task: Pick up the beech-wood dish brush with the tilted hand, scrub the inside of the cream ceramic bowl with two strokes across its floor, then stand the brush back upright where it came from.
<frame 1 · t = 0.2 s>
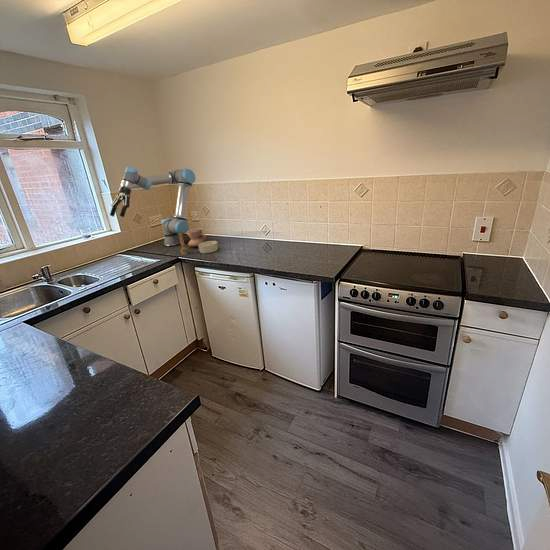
hand: (116, 216, 210), 35 cm above the countertop, tool tilted 35°, fingers open, 13 cm apart
brush: (184, 253, 232), on the countertop
ceramic jug: (198, 246, 248), on the countertop
bowl: (209, 250, 232), on the countertop
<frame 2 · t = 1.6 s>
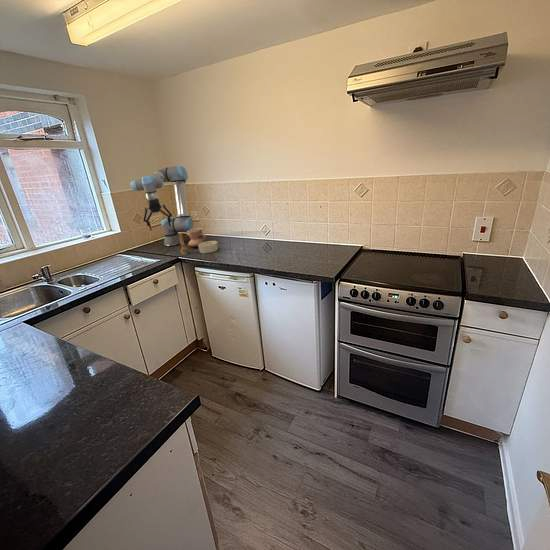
hand: (160, 228, 219), 23 cm above the countertop, tool pointing down, fingers open, 13 cm apart
nothing on the countertop moved.
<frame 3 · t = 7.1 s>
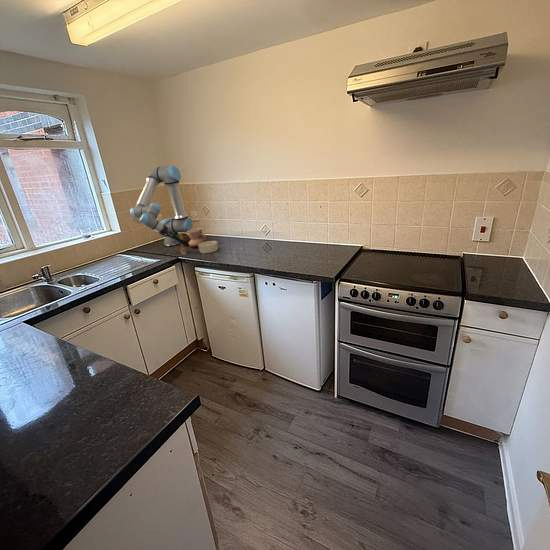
hand: (188, 245, 232), 6 cm above the countertop, tool tilted 45°, fingers closed on brush, 3 cm apart
brush: (184, 253, 232), on the countertop, touching gripper
everything else where it was.
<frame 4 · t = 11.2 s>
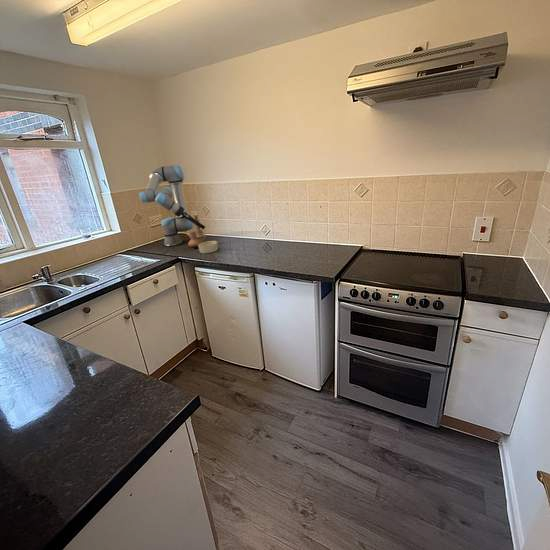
hand: (203, 227, 227), 18 cm above the countertop, tool tilted 45°, fingers closed on brush, 3 cm apart
brush: (200, 236, 227), point 12 cm above the countertop, touching gripper
everything else where it was.
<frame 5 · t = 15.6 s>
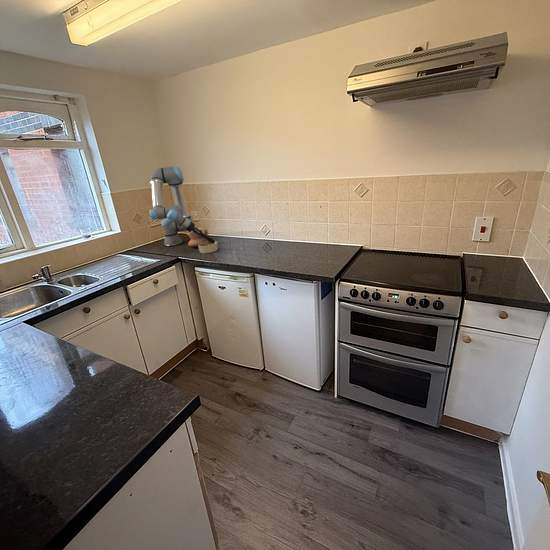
hand: (213, 242, 231), 6 cm above the countertop, tool tilted 45°, fingers closed on brush, 3 cm apart
brush: (210, 249, 232), point 1 cm above the countertop, touching gripper
everything else where it was.
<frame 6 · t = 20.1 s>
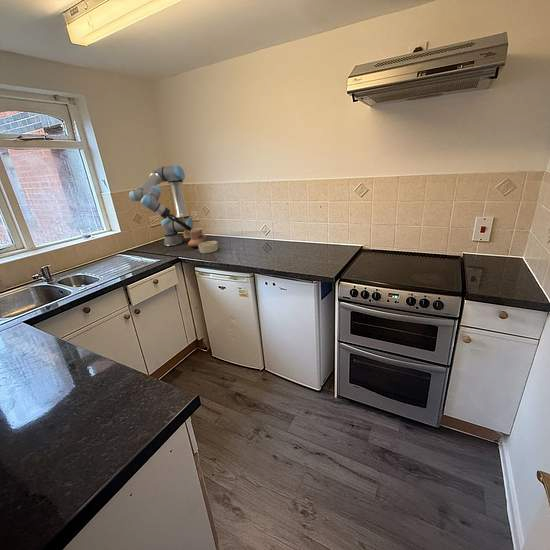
hand: (190, 229, 228), 18 cm above the countertop, tool tilted 45°, fingers closed on brush, 3 cm apart
brush: (187, 237, 228), point 13 cm above the countertop, touching gripper
everything else where it was.
when the fingers open (6 cm above the countertop, at t = 24.2 s): brush stays where it is, on the countertop.
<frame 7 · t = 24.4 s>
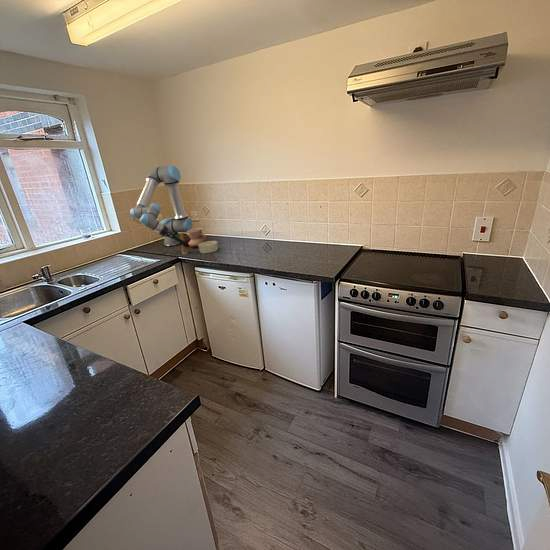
hand: (188, 245, 232), 5 cm above the countertop, tool tilted 45°, fingers open, 5 cm apart
brush: (185, 253, 233), on the countertop
everything else where it was.
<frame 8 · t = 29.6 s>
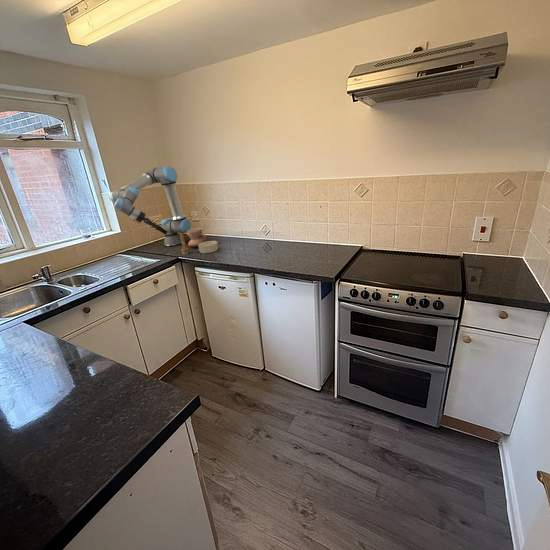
hand: (164, 231, 221), 20 cm above the countertop, tool tilted 45°, fingers open, 13 cm apart
nothing on the countertop moved.
at the end: brush inside the target area (0.7 cm from its centre), on the countertop; brush tilted 0°; the gripper is holding nothing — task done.
